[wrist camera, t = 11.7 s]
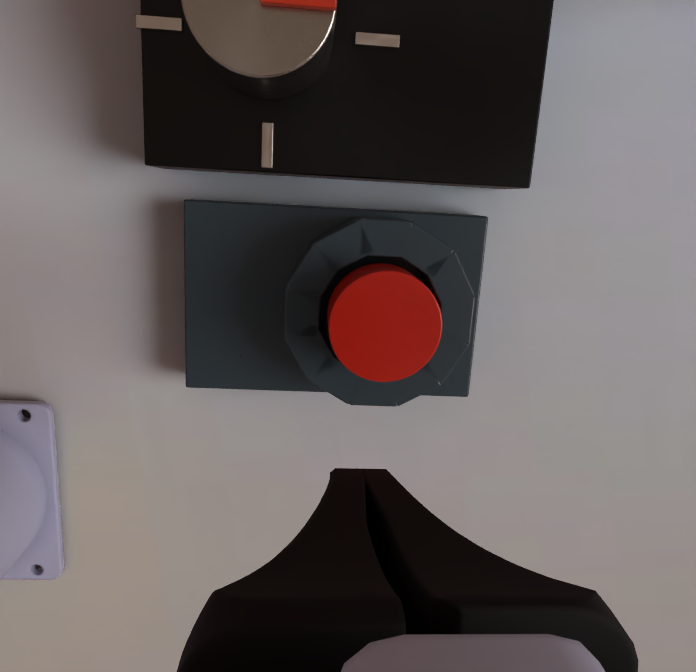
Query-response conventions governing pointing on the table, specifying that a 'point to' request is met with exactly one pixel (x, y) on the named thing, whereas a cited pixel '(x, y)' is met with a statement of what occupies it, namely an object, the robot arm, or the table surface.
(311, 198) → the table surface
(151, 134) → the panel
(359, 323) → the stop button
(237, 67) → the burner knob
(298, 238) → the button box
